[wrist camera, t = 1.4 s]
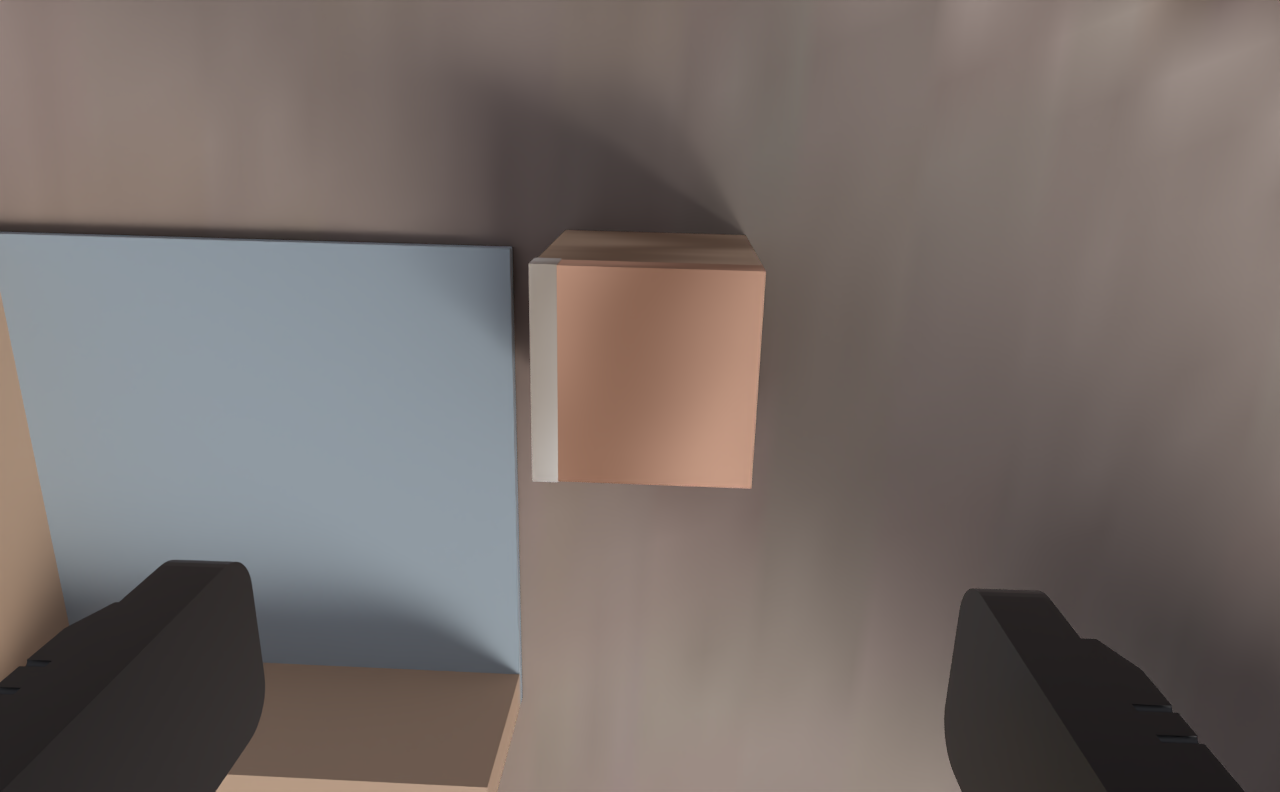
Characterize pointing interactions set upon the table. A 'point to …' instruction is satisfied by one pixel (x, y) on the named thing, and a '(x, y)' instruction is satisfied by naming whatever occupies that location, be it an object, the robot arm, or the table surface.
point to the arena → (280, 479)
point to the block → (645, 358)
